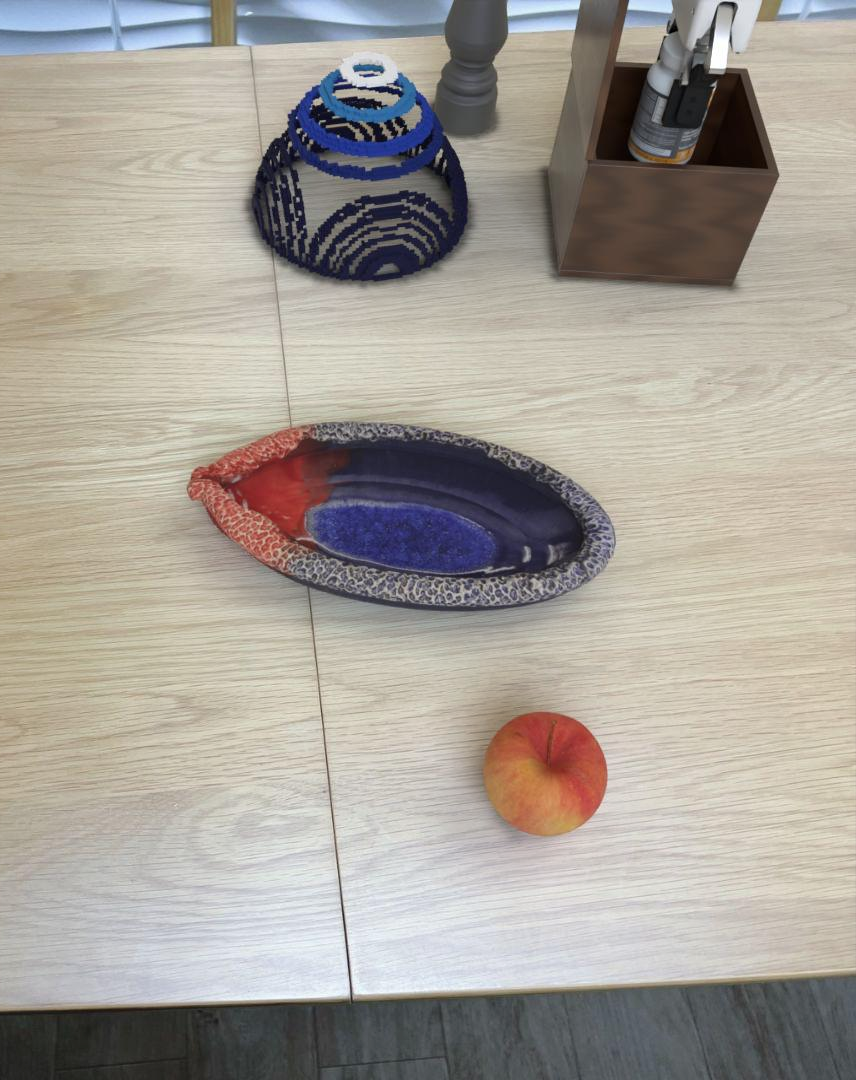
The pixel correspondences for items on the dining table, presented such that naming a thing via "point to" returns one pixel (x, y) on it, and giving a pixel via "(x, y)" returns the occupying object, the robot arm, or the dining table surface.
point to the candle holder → (471, 65)
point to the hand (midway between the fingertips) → (675, 101)
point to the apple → (545, 773)
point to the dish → (407, 516)
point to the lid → (595, 62)
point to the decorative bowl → (363, 173)
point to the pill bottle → (647, 129)
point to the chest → (661, 190)
